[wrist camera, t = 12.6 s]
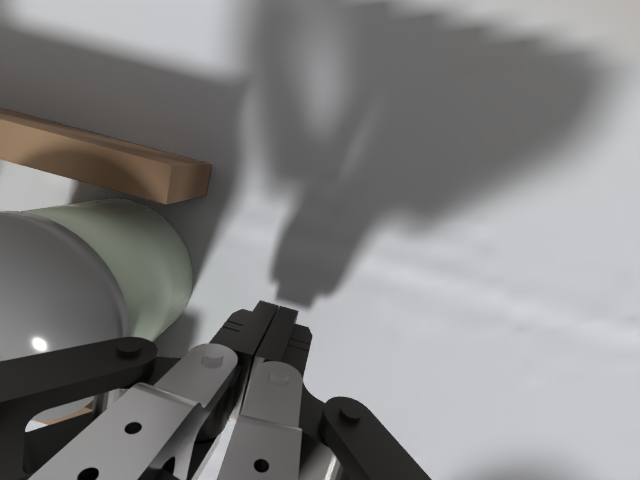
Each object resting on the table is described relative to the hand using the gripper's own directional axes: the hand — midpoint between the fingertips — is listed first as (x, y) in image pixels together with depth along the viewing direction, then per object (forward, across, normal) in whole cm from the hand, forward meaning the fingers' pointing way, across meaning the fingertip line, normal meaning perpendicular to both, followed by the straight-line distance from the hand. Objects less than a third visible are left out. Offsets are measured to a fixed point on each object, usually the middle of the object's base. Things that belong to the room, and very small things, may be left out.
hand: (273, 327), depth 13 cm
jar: (+1, +7, 0) cm, 7 cm away
